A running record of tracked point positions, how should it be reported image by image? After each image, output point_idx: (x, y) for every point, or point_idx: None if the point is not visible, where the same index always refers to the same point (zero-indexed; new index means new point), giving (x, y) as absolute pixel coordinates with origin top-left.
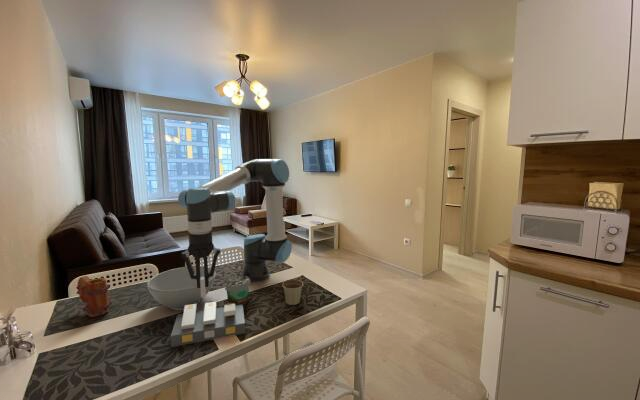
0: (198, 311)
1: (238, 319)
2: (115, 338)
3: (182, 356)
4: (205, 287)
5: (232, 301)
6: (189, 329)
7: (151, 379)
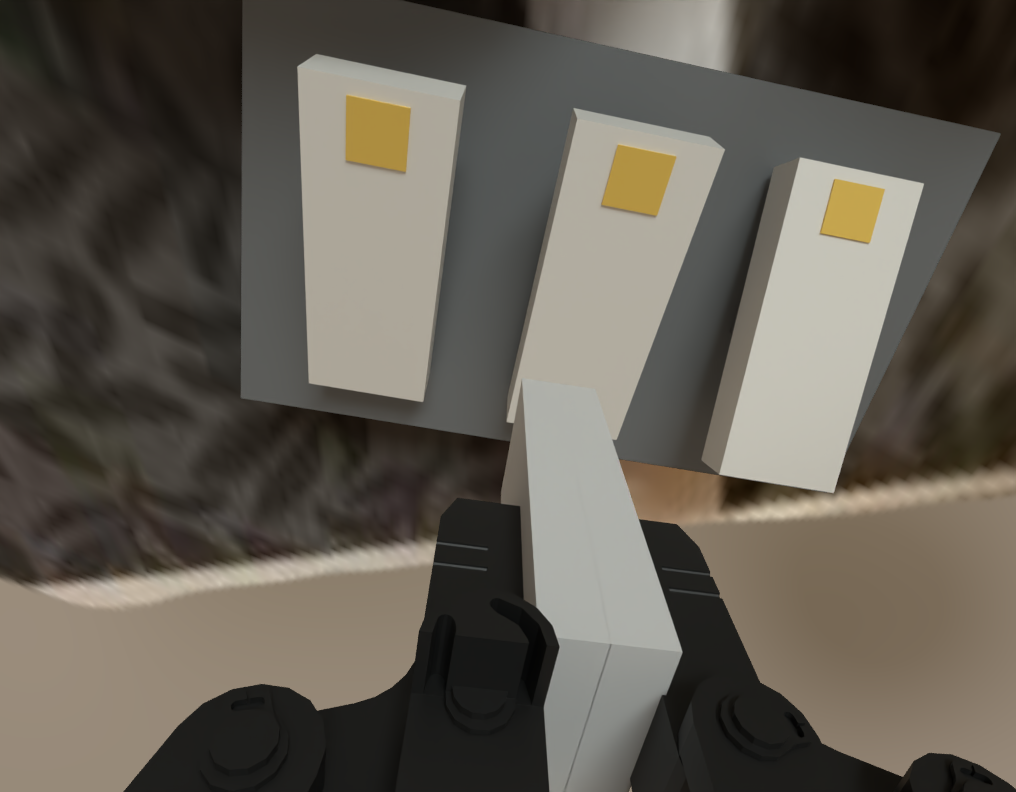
0: (491, 30)
1: None
2: None
3: (360, 487)
4: (612, 465)
5: None
6: None
7: (219, 585)
